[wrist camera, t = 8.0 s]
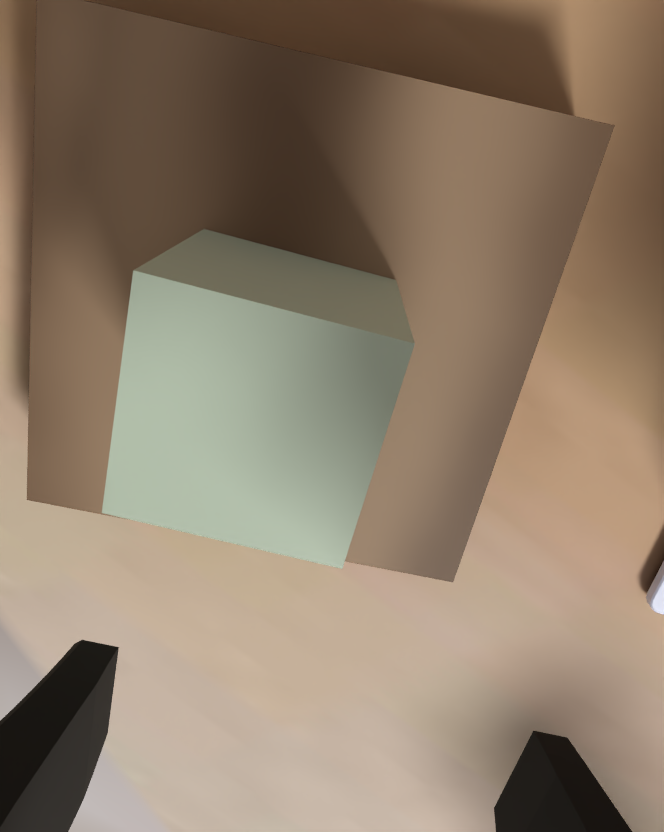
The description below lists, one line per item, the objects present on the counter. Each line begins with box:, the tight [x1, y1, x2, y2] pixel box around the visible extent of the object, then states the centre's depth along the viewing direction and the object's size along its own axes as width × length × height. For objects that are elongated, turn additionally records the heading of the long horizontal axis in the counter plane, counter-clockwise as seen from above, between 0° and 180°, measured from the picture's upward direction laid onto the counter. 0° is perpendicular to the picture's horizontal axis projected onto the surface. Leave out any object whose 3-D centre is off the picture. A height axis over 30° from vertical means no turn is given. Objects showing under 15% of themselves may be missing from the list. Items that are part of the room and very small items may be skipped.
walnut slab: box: [27, 0, 614, 582], centre depth 17 cm, size 12×12×3 cm
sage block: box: [102, 229, 415, 569], centre depth 13 cm, size 4×4×5 cm
